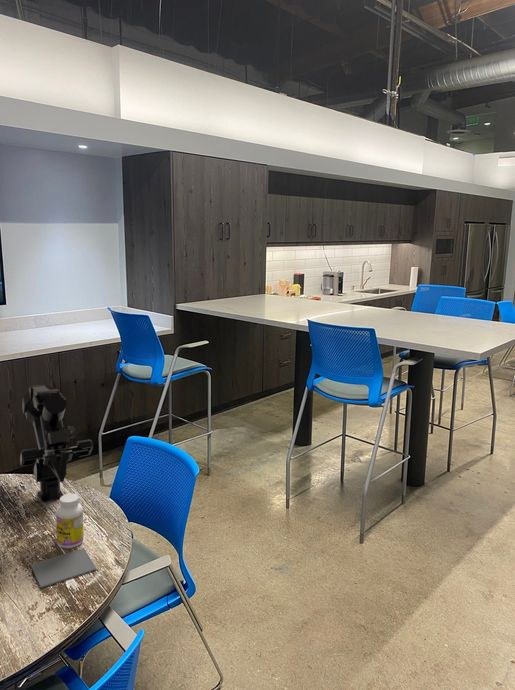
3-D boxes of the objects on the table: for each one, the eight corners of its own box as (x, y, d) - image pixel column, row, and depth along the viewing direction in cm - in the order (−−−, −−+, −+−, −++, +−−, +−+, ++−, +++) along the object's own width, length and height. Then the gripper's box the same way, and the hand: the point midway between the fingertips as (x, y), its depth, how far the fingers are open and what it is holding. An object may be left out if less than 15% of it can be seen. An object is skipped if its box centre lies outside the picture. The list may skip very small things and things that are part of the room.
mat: (30, 565, 129) (30, 563, 129) (83, 549, 137) (83, 547, 137) (40, 588, 121) (40, 586, 121) (96, 570, 129) (96, 568, 129)
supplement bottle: (51, 544, 138) (49, 499, 135) (70, 532, 144) (69, 489, 141) (69, 552, 135) (68, 506, 132) (89, 540, 141) (88, 495, 138)
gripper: (19, 421, 140) (27, 477, 133) (91, 412, 150) (102, 463, 143) (16, 439, 148) (24, 492, 141) (84, 429, 158) (94, 478, 151)
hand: (62, 481), depth 144 cm, fingers closed
